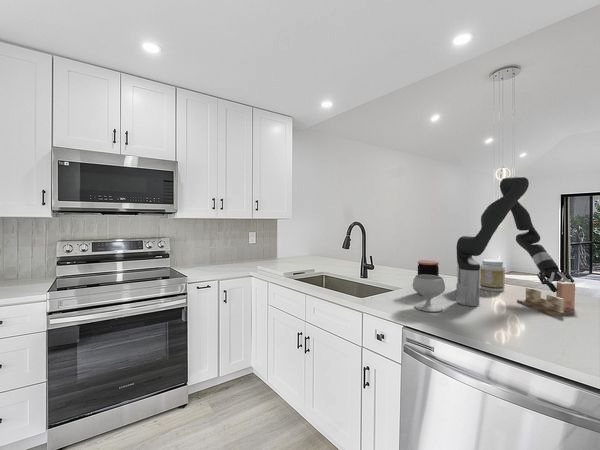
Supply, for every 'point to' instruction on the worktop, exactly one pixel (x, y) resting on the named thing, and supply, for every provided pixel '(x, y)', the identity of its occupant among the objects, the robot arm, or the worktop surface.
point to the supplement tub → (492, 275)
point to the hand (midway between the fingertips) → (564, 291)
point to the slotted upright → (566, 293)
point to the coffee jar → (428, 267)
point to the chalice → (428, 290)
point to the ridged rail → (544, 303)
